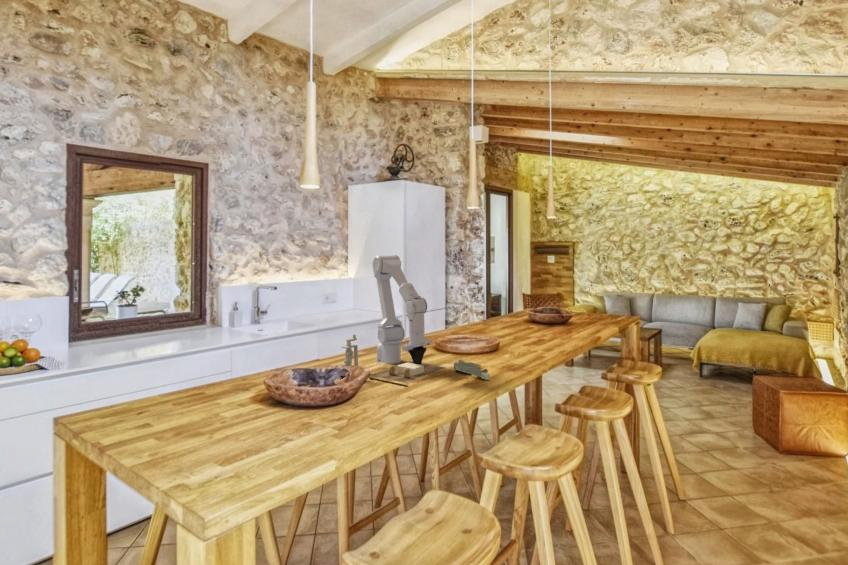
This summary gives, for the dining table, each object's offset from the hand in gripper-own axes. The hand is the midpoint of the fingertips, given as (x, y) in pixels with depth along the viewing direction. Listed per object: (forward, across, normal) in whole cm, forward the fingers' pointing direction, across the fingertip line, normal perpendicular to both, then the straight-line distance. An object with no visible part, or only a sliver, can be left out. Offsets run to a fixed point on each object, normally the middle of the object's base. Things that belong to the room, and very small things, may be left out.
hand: (417, 367), depth 181 cm
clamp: (+3, -17, +19) cm, 26 cm away
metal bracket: (+3, +10, -17) cm, 20 cm away
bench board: (+3, -3, +2) cm, 4 cm away
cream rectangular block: (+1, -4, 0) cm, 4 cm away
